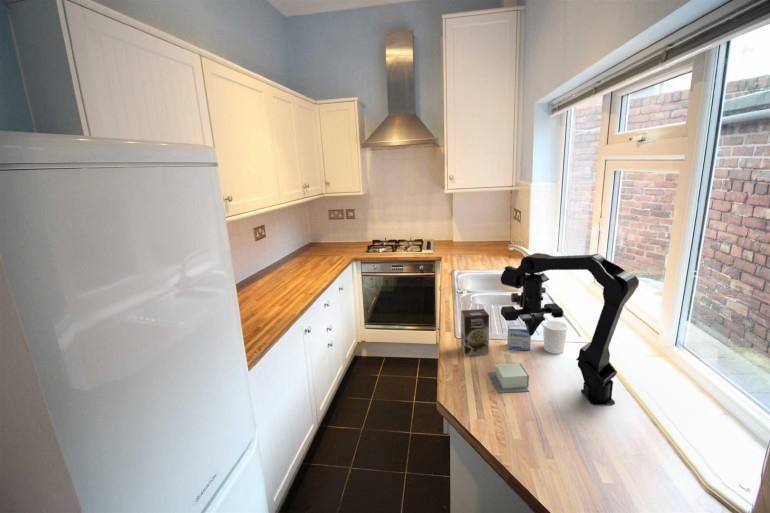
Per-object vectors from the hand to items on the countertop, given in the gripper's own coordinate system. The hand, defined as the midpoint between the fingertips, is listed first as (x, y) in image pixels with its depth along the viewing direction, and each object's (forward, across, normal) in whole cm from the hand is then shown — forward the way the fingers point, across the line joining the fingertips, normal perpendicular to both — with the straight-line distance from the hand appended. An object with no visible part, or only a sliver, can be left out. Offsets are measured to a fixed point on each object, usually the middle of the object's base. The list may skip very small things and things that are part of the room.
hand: (530, 335), depth 118 cm
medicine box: (+12, -1, -13) cm, 18 cm away
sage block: (+10, +5, +8) cm, 13 cm away
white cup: (+12, -13, -10) cm, 21 cm away
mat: (+12, +10, +8) cm, 18 cm away
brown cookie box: (+12, +16, -12) cm, 23 cm away
